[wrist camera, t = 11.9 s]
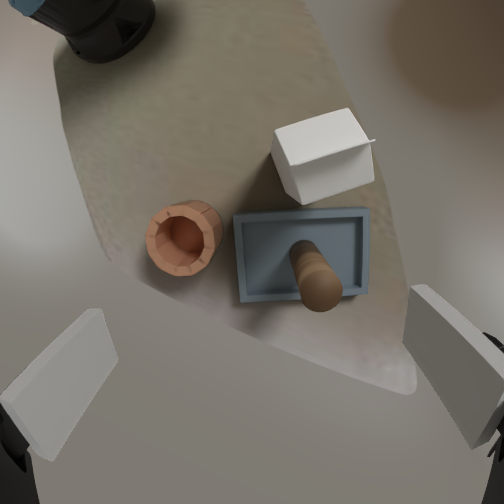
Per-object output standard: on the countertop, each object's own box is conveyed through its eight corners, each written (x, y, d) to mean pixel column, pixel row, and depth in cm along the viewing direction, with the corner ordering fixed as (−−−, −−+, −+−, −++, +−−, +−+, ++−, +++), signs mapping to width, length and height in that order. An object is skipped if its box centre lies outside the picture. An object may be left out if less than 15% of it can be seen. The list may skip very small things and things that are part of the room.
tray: (234, 212, 40) (232, 215, 38) (363, 206, 39) (369, 208, 37) (241, 294, 43) (240, 302, 41) (361, 286, 42) (367, 293, 40)
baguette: (288, 240, 40) (300, 273, 26) (317, 238, 40) (343, 270, 26) (289, 268, 41) (300, 313, 27) (318, 267, 41) (341, 310, 27)
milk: (325, 178, 39) (393, 184, 17) (284, 192, 40) (309, 213, 18) (310, 136, 37) (362, 97, 16) (268, 151, 38) (275, 122, 17)
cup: (162, 203, 41) (142, 209, 33) (220, 197, 40) (210, 202, 33) (169, 260, 43) (151, 277, 35) (225, 257, 42) (217, 274, 35)
